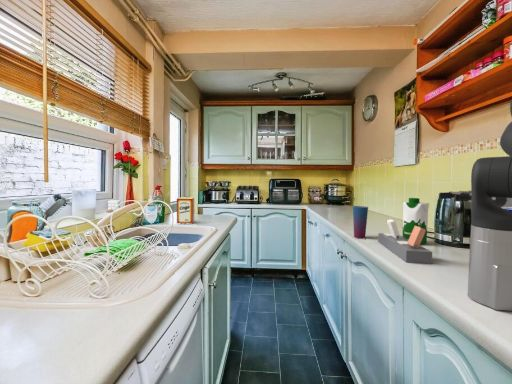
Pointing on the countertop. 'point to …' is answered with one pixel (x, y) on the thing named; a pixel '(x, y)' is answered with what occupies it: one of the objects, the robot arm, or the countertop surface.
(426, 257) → the power strip
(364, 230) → the cup
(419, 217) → the milk carton
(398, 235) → the rocker offwhite
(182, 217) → the baking soda box
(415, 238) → the rocker terracotta
